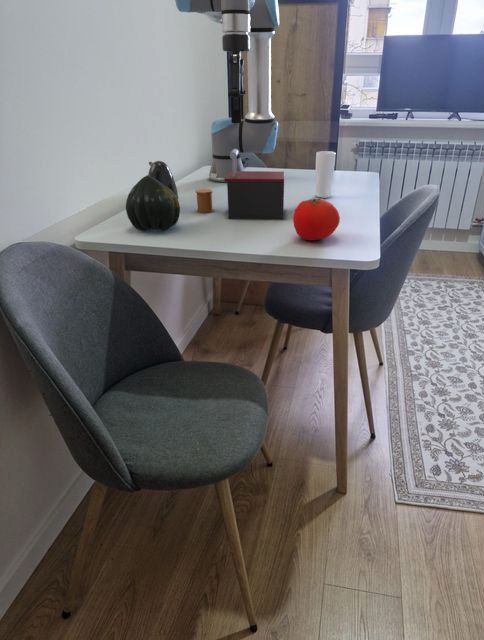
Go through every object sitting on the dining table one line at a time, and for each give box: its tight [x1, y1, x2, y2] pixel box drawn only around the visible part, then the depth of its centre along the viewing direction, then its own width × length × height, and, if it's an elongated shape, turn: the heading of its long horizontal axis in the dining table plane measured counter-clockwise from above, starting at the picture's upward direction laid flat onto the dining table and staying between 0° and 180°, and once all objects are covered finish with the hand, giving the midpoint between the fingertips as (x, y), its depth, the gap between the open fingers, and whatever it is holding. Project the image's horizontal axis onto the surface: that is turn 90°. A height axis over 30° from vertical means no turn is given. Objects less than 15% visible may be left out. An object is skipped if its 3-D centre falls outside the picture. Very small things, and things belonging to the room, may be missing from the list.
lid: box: [223, 149, 285, 183], centre depth 144 cm, size 18×12×8 cm
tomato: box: [292, 197, 341, 241], centre depth 127 cm, size 13×12×11 cm
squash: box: [125, 174, 181, 232], centre depth 136 cm, size 14×15×15 cm
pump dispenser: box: [147, 160, 179, 199], centre depth 153 cm, size 10×10×15 cm
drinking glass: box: [315, 150, 336, 199], centre depth 169 cm, size 7×7×15 cm
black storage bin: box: [226, 181, 285, 220], centre depth 149 cm, size 17×12×11 cm
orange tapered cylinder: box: [195, 188, 214, 214], centre depth 153 cm, size 5×5×6 cm
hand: (237, 121), depth 140 cm, fingers open, 13 cm apart
